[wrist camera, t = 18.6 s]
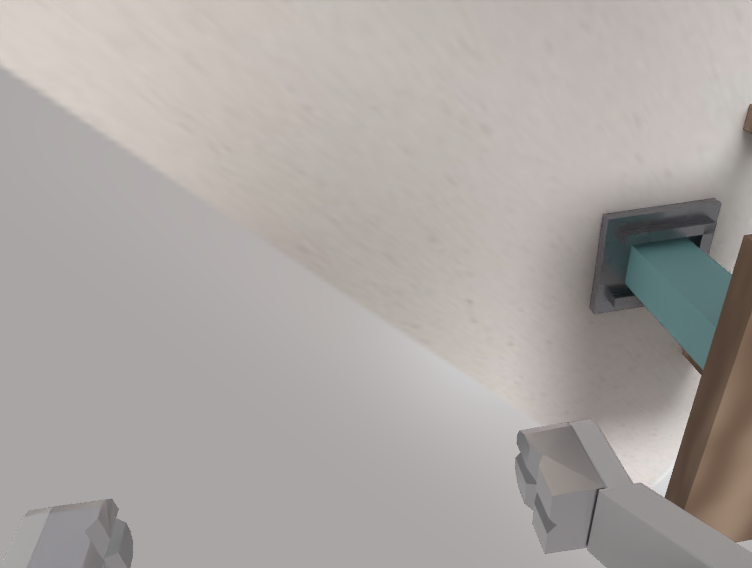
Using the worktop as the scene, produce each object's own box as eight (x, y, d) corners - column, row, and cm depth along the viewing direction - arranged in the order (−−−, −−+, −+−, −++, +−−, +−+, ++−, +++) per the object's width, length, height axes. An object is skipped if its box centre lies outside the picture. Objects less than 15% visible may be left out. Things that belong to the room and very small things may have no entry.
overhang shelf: (561, 373, 59) (669, 554, 43) (591, 125, 45) (770, 254, 28) (700, 351, 60) (858, 520, 44) (773, 101, 46) (1051, 212, 29)
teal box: (624, 283, 53) (703, 371, 43) (631, 245, 50) (716, 328, 40) (677, 275, 53) (768, 360, 43) (686, 237, 51) (784, 318, 41)
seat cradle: (589, 307, 55) (599, 320, 53) (603, 214, 49) (614, 224, 48) (689, 292, 56) (702, 304, 54) (714, 198, 50) (728, 208, 48)
